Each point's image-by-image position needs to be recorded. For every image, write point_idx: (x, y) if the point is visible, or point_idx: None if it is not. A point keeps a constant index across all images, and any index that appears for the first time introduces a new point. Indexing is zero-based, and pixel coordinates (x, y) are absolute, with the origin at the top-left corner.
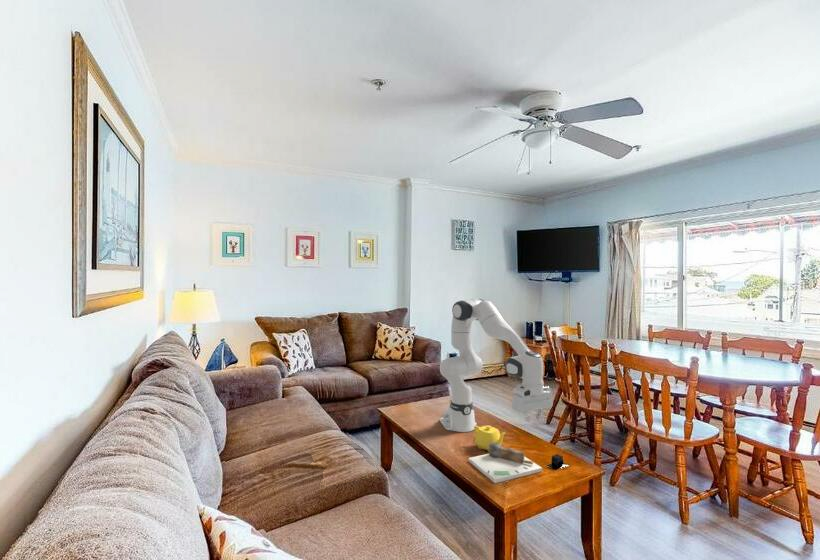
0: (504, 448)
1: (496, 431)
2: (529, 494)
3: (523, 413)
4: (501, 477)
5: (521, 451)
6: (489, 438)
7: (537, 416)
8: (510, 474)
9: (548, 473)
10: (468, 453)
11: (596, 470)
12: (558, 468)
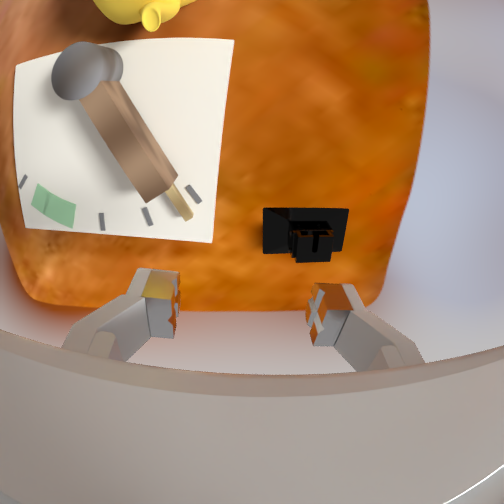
0: (100, 112)
1: None
2: (92, 301)
3: (86, 329)
4: (44, 226)
5: (158, 179)
6: (95, 1)
7: (316, 315)
8: (74, 225)
9: (223, 255)
10: (58, 5)
11: (369, 304)
12: (285, 251)
